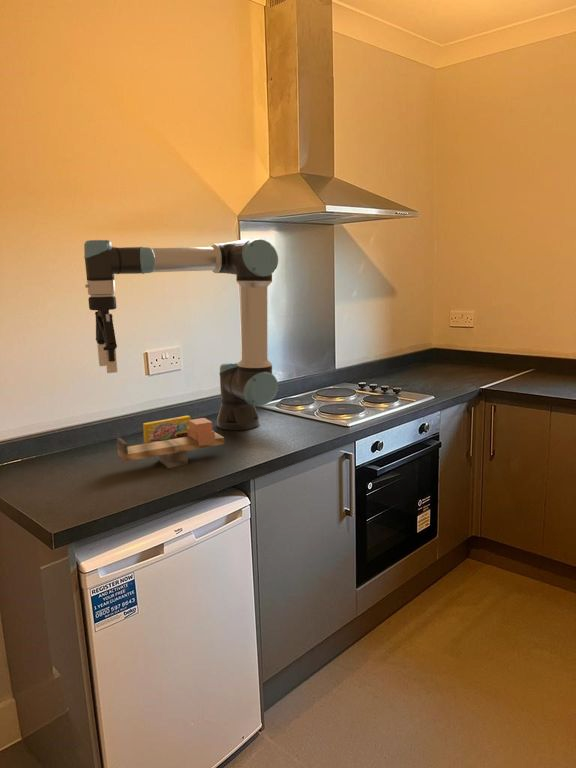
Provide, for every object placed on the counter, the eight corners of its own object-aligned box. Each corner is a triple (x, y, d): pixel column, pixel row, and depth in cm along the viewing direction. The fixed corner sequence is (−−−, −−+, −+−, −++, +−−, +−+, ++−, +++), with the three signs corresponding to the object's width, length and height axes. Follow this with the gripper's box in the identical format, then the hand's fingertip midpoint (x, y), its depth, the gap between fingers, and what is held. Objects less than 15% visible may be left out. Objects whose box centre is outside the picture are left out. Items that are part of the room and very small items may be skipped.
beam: (215, 450, 185) (213, 422, 183) (225, 457, 178) (224, 428, 177) (118, 467, 170) (116, 437, 169) (126, 476, 164) (123, 444, 162)
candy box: (146, 449, 187) (144, 424, 186) (143, 448, 189) (141, 423, 187) (192, 440, 197) (190, 415, 195) (188, 438, 199) (187, 414, 197)
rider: (203, 436, 183) (202, 416, 182) (214, 443, 175) (214, 423, 174) (187, 438, 180) (186, 419, 179) (199, 446, 173) (198, 425, 172)
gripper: (82, 294, 179) (88, 364, 183) (95, 298, 157) (101, 377, 161) (107, 293, 182) (113, 361, 186) (123, 296, 160) (129, 374, 164)
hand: (108, 369), depth 173 cm, fingers open, 13 cm apart
